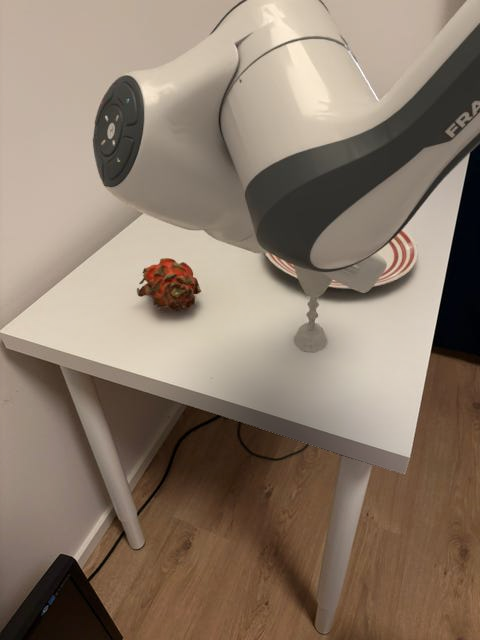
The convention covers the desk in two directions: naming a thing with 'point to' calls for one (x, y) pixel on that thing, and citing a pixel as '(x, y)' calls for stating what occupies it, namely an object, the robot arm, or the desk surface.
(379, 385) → the desk surface
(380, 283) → the dinner plate
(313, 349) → the chalice
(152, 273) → the dragon fruit
